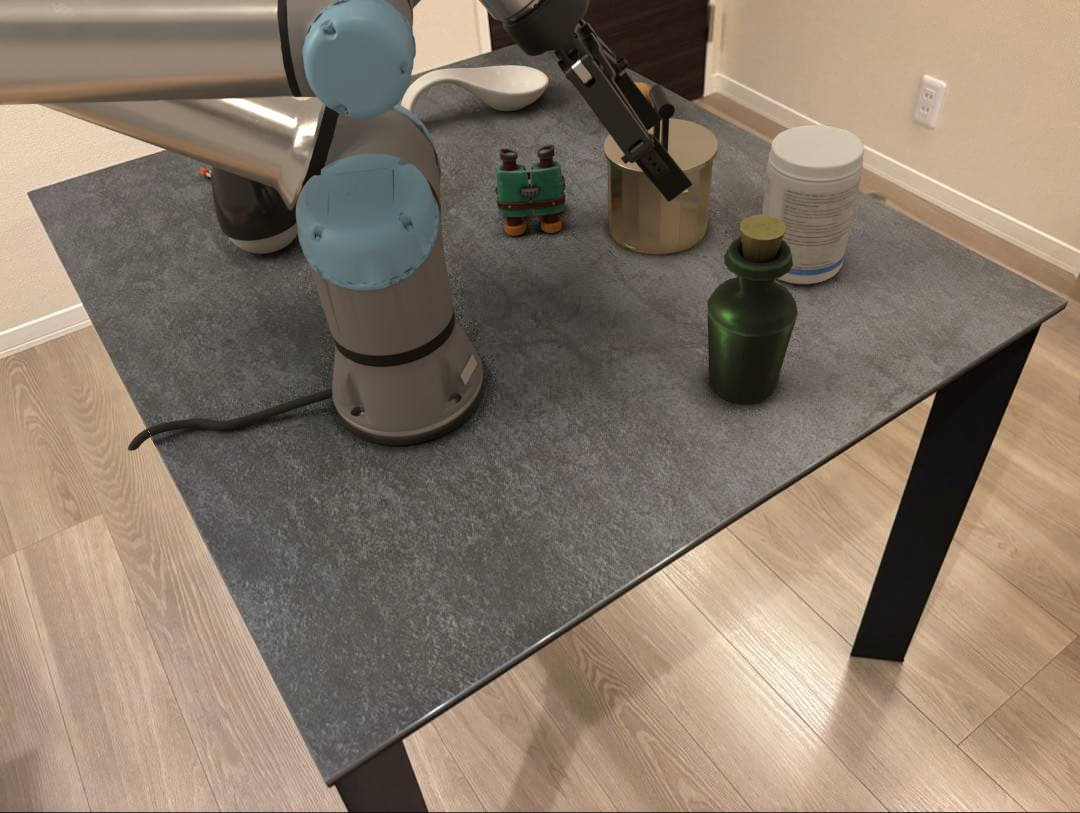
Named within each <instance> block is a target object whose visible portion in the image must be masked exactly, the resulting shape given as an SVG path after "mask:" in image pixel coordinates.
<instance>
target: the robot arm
mask: <svg viewBox="0 0 1080 813" xmlns="http://www.w3.org/2000/svg"><path fill="white" fill-rule="evenodd" d="M421 1H422V0H0V106H11V105H13V106H14V105H16V106H17V105H39V106H42V107H44V108H48V109H49V110H52V111H56V112H59V113H61V114H63V115H67V116H69V117H72V118H76V119H77V120H78V119H79V120H81V121H84V122H86V123H90V124H92V125H95V126H98V127H100V128H104V129H107V130H109V131H112V132H115V133H118V134H120V135H123V136H127V137H129V138H131V139H135V140H137V141H141V142H143V143H146V144H149V145H151V146H155V147H158V148H160V149H163V150H166V151H168V152H171V153H174V154H176V155H180V156H183V157H185V158H188V159H191V160H194V161H197V162H200V163H203V164H205V165H208V166H210V167H211V166H213V167H216V168H219V169H222V170H225V171H228V172H230V173H233V174H236V175H239V176H242V177H244V178H247V179H250V180H253V181H256V182H259V183H261V184H264V185H267V186H270V187H273V188H274V189H276V190H277V191H278V193H279V195H280V196H281V198H282V200H283V202H284V203H285V205H286V207H287V209H288V210H291V211H294V212H296V221H297V225H298V234H297V237H298V241H299V245H300V248H302V254H303V256H304V257H305V259H306V261H307V262H308V263H307V264H308V266H309V269H310V273H311V275H312V279H313V282H314V285H315V288H316V291H317V293H318V297H319V300H320V303H321V306H322V309H323V313H324V315H325V318H326V321H327V325H328V328H329V331H330V334H331V336H332V340H333V343H334V346H335V348H334V349H335V350H334V359H333V360H334V361H333V373H332V384H331V388H327V389H323V390H321V391H317V392H314V393H311V394H308V395H305V396H302V397H299V398H295V399H293V400H292V399H291V400H289V401H287V402H283V403H281V404H277V405H275V406H272V407H269V408H266V409H263V410H259V411H256V412H253V413H250V414H247V415H244V416H241V417H237V418H233V419H227V420H214V419H209V418H202V417H200V418H199V417H197V418H186V419H178V420H172V421H167V422H166V421H165V422H162V423H158V424H154V425H151V426H149V427H147V428H145V429H143V430H141V431H140V432H139V433H138V434H136V436H134V437H133V439H131V441H130V443H129V444H128V447H127V450H128V452H129V451H130V452H132V451H136V450H138V449H139V448H140V447H141V446H142V444H144V443H145V442H146V441H147V440H149V439H150V438H152V437H154V436H157V435H160V434H163V433H167V432H173V431H179V430H188V429H196V428H200V429H201V428H202V429H207V430H213V431H228V430H234V429H238V428H241V427H246V426H248V425H251V424H255V423H258V422H261V421H265V420H268V419H270V418H273V417H276V416H279V415H282V414H285V413H288V412H291V411H294V410H297V409H299V408H304V407H307V406H310V405H314V404H315V403H319V402H322V401H325V400H329V399H331V398H332V401H333V404H334V408H335V411H336V413H337V415H338V417H339V419H340V422H341V423H342V424H343V426H344V427H345V428H346V429H347V430H348V431H350V432H351V433H352V434H353V435H355V436H357V437H359V438H360V439H362V440H365V441H368V442H371V443H374V444H379V445H386V446H408V445H415V444H421V443H424V442H428V441H431V440H434V439H437V438H440V437H442V436H444V435H446V434H448V433H450V432H452V431H454V430H455V429H456V428H458V427H459V426H461V425H462V424H463V423H464V422H466V421H467V420H468V419H469V418H470V417H471V416H472V415H473V414H474V412H475V411H476V409H477V408H478V407H479V405H480V404H481V401H482V399H483V397H484V394H485V387H486V379H485V373H484V367H483V361H482V359H481V357H480V355H479V353H478V351H477V350H476V349H475V347H474V346H473V344H472V343H471V341H470V339H469V337H468V336H467V334H466V333H465V331H464V330H463V328H462V327H461V325H460V323H459V322H458V320H457V318H456V315H455V310H454V303H453V298H452V293H451V287H450V280H449V276H448V275H449V274H448V270H447V264H446V259H445V258H446V257H445V250H444V238H443V226H442V224H443V222H442V202H441V178H442V168H441V163H440V159H439V155H438V152H437V149H436V146H435V143H434V140H433V137H432V136H431V133H430V132H429V130H428V128H427V127H426V126H425V124H424V123H423V122H422V120H421V119H420V118H419V117H418V116H417V115H415V113H414V114H413V113H412V112H411V111H409V110H408V109H406V108H405V107H403V106H401V104H400V102H401V101H402V99H403V96H404V94H405V93H406V91H407V89H408V88H409V87H410V82H411V78H412V75H413V74H412V73H413V70H414V62H415V61H414V60H415V57H416V55H417V47H416V46H417V44H416V38H415V36H414V29H413V28H414V27H413V26H414V8H415V7H416V6H417V5H418V4H419V3H420V2H421ZM478 1H479V3H481V5H482V6H483V7H484V9H485V10H486V11H487V12H488V13H489V15H490V16H491V17H492V18H493V19H494V20H496V21H500V22H502V28H503V30H504V31H506V32H505V33H507V34H508V35H509V37H510V38H511V40H513V41H514V43H516V45H517V46H518V47H519V49H520V50H522V51H523V53H524V54H525V55H527V56H529V57H538V56H541V55H544V54H545V53H547V52H551V51H553V53H554V55H555V56H556V58H557V60H558V61H556V63H557V65H558V67H559V69H560V70H561V71H562V73H563V74H564V76H565V78H566V79H567V81H569V82H570V83H571V84H572V85H573V86H574V88H575V89H576V90H577V91H578V92H579V94H580V95H581V96H582V98H583V99H584V100H585V102H586V103H587V105H588V106H589V108H590V109H591V110H592V112H593V114H595V116H596V117H597V119H598V121H600V123H601V124H602V125H603V127H604V128H605V130H606V131H607V132H608V134H610V135H611V136H612V138H613V139H614V141H615V142H616V143H617V145H618V146H619V147H620V149H621V150H622V152H623V153H624V154H625V155H624V156H623V157H621V159H622V161H623V162H624V163H625V164H626V163H628V162H630V163H632V164H633V163H634V162H636V164H637V165H638V166H639V167H640V168H641V170H642V171H643V172H644V173H645V174H646V175H647V177H648V178H649V179H650V180H651V181H652V183H653V184H654V185H655V186H656V187H657V189H658V190H659V191H660V192H661V193H662V194H663V196H664V197H665V198H666V199H667V200H668V202H670V201H671V200H672V199H674V198H675V197H676V196H678V195H679V194H680V193H682V192H683V191H685V190H686V189H687V188H689V187H690V186H691V185H692V183H691V181H690V180H689V178H688V177H687V176H686V175H685V173H684V172H683V171H682V170H681V168H680V167H679V166H678V165H677V163H676V162H675V161H674V160H673V158H672V157H671V156H670V155H669V153H668V152H667V151H666V150H665V148H664V147H663V146H662V145H661V143H660V142H659V141H658V140H657V138H656V137H655V136H654V135H653V134H652V135H651V133H649V132H648V130H649V129H651V128H652V127H653V126H655V125H656V124H657V123H658V122H660V121H661V120H662V119H661V116H660V115H659V114H658V113H657V111H656V110H655V109H654V107H653V106H652V105H651V104H650V102H649V101H648V100H647V98H646V97H645V96H644V95H643V93H642V92H641V91H640V89H639V88H638V87H637V86H636V84H635V83H634V82H635V81H634V80H633V79H632V78H631V77H630V75H629V74H628V73H627V71H625V70H626V69H627V68H628V67H630V64H629V63H628V61H627V59H626V58H625V56H621V57H620V58H619V59H617V57H616V54H615V51H612V50H611V49H610V47H608V45H607V44H606V43H605V42H604V41H603V40H602V39H601V37H599V36H598V35H597V33H596V31H595V30H594V28H593V26H591V24H590V23H589V22H588V21H585V20H584V17H585V15H586V13H587V11H588V9H589V6H590V2H591V1H590V0H478ZM624 71H625V72H624ZM622 72H624V73H622ZM620 73H622V74H620ZM297 98H306V99H301V100H300V99H297ZM148 431H149V432H150V433H149V432H148ZM150 435H151V436H150Z"/></svg>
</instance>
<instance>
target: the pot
mask: <svg viewBox="0 0 1080 813" xmlns="http://www.w3.org/2000/svg"><path fill="white" fill-rule="evenodd" d="M606 162H607V163H606V167H607V170H606V171H607V175H606V176H607V225H608V231H609V234H610V236H611V238H612V239H613V241H615V243H616V244H618V245H619V246H621V247H623V248H624V249H627V250H629V251H632V252H635V253H638V254H643V255H655V256H658V255H659V256H660V255H672V254H676V253H680V252H684V251H686V250H688V249H690V248H692V247H694V246H696V245H697V244H699V242H701V241H702V240H703V238H704V237H705V235H706V233H707V227H708V223H709V212H710V202H711V201H710V199H711V188H712V187H711V186H712V177H713V164H714V163H713V162H714V159H713V160H712V161H711V162H710V163H709V164H708V165H706V166H705V167H703V168H701V169H699V170H697V171H694V172H691V173H688V174H685V175H686V176H687V177H688V178H689V180H690V181H691V183H692V185H691V186H690V187H689V188H687V189H686V190H685V191H683V192H682V193H680V194H679V195H678V196H676V197H675V198H674V199H672V200H671V201H670V202H668V200H667V199H666V198H665V197H664V196H663V194H662V193H661V192H660V191H659V190H658V189H657V187H656V186H655V185H654V184H653V183H652V181H651V180H650V179H649V178H648V177H645V176H639V175H634V174H630V173H627V172H624V171H622V170H620V169H618V168H616V167H614V166H613V165H612V164H611V163H609V161H608V160H607V159H606Z"/></svg>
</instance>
